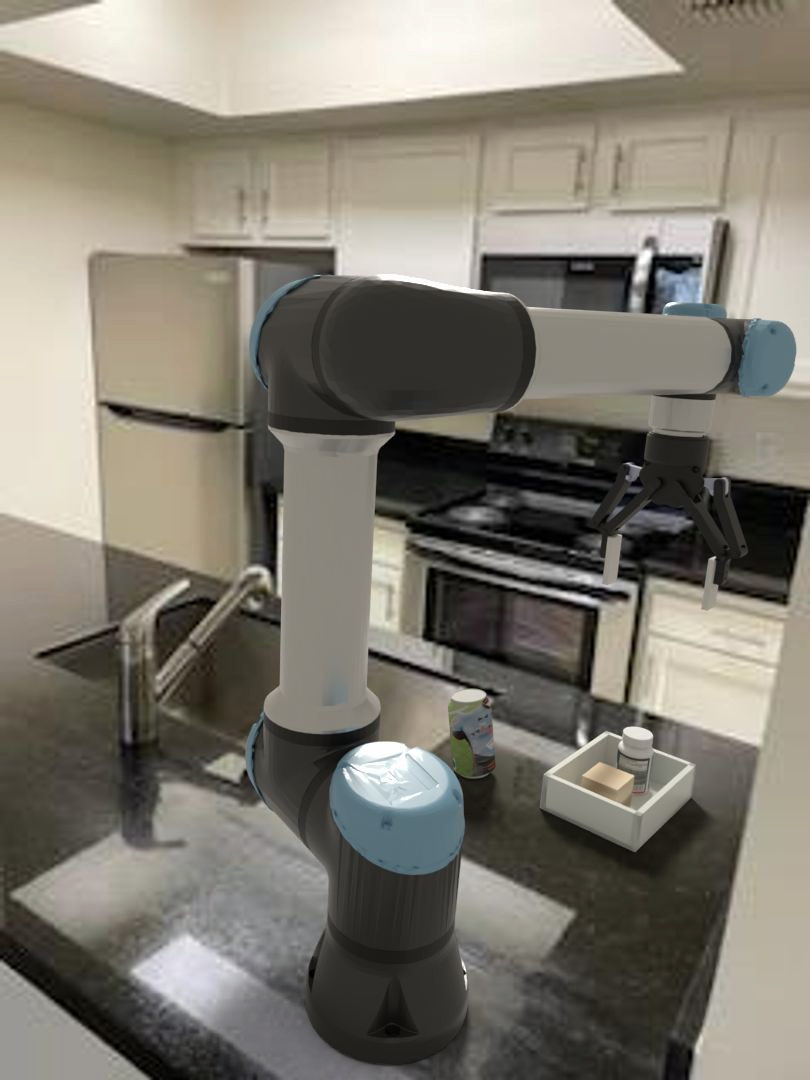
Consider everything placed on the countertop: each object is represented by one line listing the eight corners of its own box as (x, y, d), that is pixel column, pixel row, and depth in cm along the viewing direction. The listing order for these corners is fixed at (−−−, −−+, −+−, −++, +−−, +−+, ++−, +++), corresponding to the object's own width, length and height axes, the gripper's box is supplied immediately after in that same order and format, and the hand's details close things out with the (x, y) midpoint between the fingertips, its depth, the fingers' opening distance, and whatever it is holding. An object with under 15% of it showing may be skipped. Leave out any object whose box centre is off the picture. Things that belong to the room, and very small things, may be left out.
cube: (629, 809, 111) (634, 775, 110) (612, 825, 107) (617, 790, 106) (595, 795, 114) (599, 761, 113) (577, 809, 110) (581, 775, 109)
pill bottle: (623, 775, 120) (630, 721, 118) (654, 788, 117) (662, 733, 115) (606, 786, 116) (613, 731, 114) (637, 800, 113) (645, 744, 111)
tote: (635, 852, 103) (640, 816, 102) (539, 808, 111) (543, 774, 110) (691, 797, 116) (696, 764, 115) (602, 761, 124) (606, 730, 123)
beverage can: (492, 787, 116) (499, 707, 113) (439, 779, 117) (445, 699, 114) (496, 765, 122) (503, 688, 119) (446, 757, 123) (452, 681, 120)
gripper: (793, 442, 99) (764, 612, 105) (602, 419, 115) (585, 568, 120) (772, 447, 94) (743, 626, 99) (575, 422, 109) (558, 578, 114)
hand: (656, 595), depth 109 cm, fingers open, 13 cm apart
